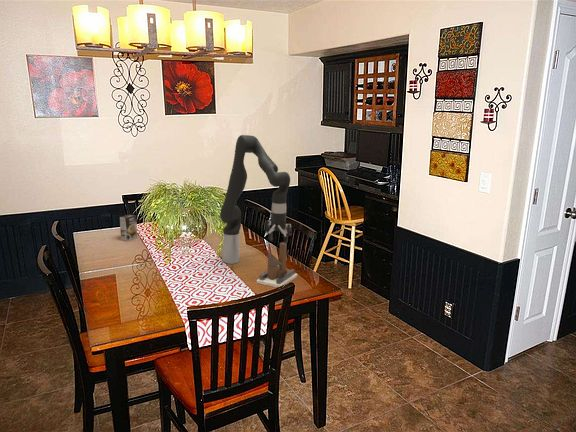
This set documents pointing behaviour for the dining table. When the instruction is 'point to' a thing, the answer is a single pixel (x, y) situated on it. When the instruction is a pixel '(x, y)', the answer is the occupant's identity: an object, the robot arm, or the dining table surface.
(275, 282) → the slotted base
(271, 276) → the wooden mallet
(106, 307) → the dining table surface
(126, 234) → the coffee box
